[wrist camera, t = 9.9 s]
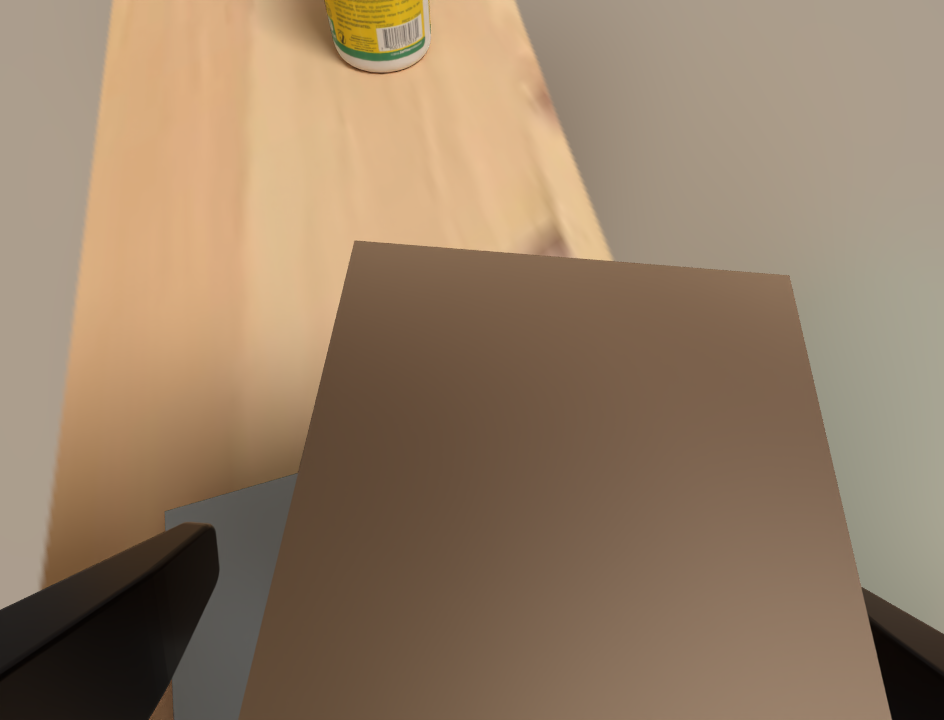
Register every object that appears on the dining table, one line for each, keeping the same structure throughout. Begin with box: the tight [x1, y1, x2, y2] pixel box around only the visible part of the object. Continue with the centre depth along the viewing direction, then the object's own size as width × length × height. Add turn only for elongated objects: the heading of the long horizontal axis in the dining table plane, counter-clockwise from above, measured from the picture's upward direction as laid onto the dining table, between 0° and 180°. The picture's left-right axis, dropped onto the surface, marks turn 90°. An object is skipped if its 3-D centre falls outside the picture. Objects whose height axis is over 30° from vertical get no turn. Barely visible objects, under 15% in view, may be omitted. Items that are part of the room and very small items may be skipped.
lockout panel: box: [165, 473, 298, 720], centre depth 14 cm, size 12×14×3 cm
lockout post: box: [238, 241, 892, 720], centre depth 9 cm, size 4×4×12 cm
